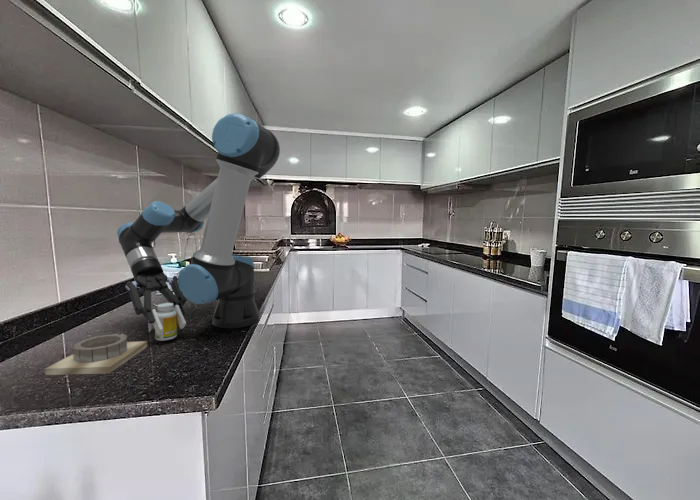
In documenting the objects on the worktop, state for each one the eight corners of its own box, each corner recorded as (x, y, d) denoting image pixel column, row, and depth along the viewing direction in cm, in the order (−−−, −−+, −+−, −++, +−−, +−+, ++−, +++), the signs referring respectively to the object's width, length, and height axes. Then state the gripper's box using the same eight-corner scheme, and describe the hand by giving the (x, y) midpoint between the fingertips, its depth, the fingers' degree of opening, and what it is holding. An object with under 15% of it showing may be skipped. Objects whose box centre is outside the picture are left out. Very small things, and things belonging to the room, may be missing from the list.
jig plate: (147, 346, 82) (146, 330, 82) (109, 373, 67) (108, 353, 67) (95, 347, 81) (94, 331, 80) (45, 375, 66) (44, 355, 66)
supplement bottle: (151, 341, 83) (149, 307, 83) (161, 334, 89) (160, 302, 88) (171, 340, 84) (170, 306, 83) (180, 334, 89) (179, 302, 89)
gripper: (173, 269, 101) (200, 327, 93) (105, 276, 87) (129, 346, 78) (180, 255, 98) (208, 313, 90) (110, 259, 83) (137, 330, 75)
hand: (172, 328), depth 84 cm, fingers closed on supplement bottle, 5 cm apart
